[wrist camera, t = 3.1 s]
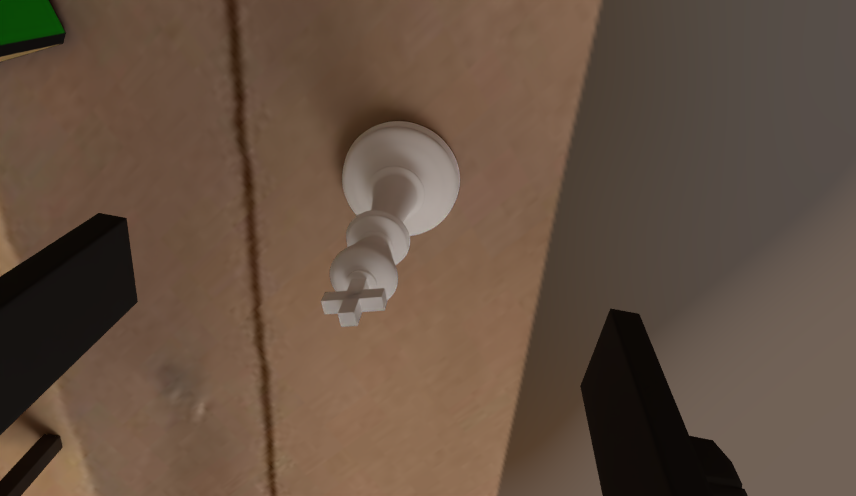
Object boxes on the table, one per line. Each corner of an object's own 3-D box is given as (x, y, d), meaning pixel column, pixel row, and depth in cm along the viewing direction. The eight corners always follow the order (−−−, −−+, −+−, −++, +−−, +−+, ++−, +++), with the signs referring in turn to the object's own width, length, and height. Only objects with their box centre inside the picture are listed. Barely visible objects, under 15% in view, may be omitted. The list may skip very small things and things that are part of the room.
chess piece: (332, 128, 22) (229, 243, 13) (452, 113, 21) (428, 226, 12) (356, 235, 24) (283, 395, 15) (466, 226, 23) (453, 387, 15)
